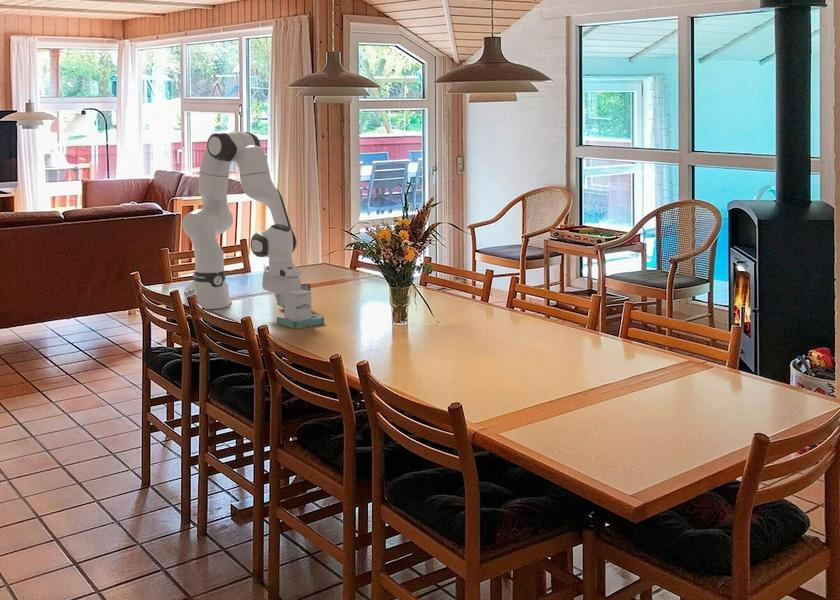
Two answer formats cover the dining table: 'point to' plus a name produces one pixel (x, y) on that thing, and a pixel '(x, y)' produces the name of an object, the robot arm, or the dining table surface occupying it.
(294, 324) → the tray
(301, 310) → the supplement box
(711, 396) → the dining table surface
